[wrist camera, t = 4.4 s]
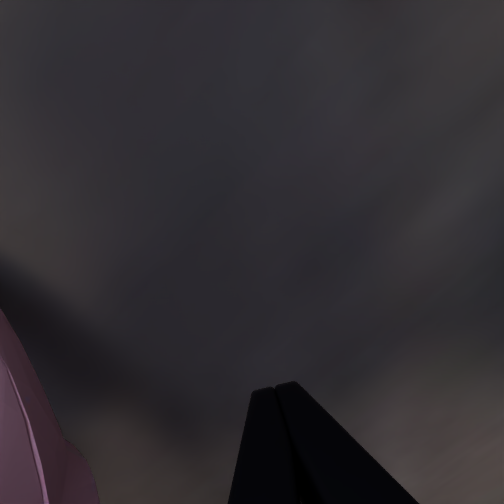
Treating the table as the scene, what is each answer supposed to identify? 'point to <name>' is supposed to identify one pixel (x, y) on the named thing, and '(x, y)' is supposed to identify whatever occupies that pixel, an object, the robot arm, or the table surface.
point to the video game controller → (34, 437)
